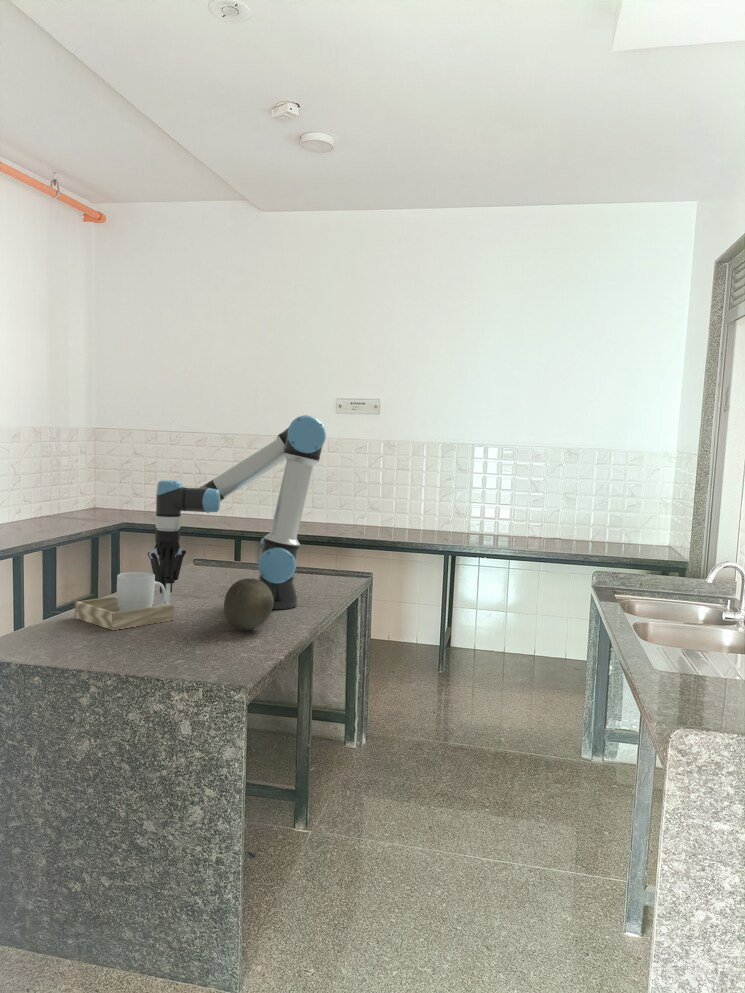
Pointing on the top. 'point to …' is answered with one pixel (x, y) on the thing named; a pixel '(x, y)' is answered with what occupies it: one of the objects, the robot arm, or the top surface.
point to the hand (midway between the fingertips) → (165, 603)
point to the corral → (120, 613)
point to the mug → (137, 590)
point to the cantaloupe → (248, 604)
